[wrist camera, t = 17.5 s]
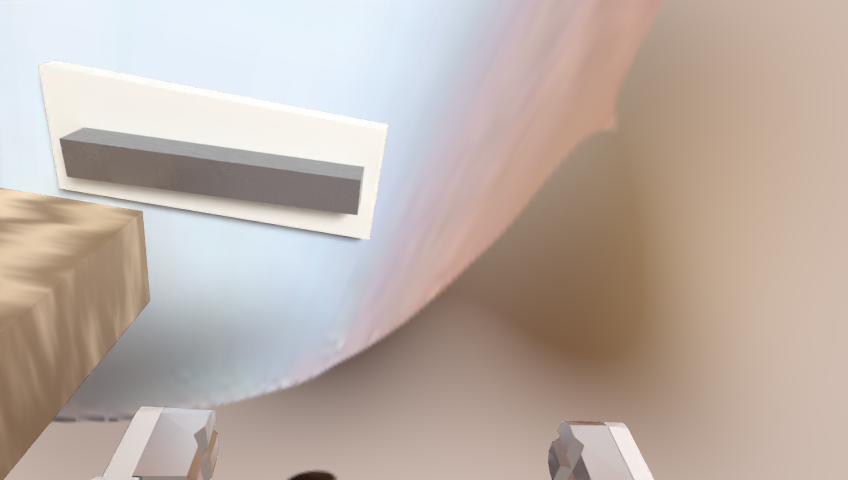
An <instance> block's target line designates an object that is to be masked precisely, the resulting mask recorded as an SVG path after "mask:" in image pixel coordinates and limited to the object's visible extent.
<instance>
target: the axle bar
mask: <svg viewBox="0 0 848 480" xmlns="http://www.w3.org/2000/svg"><path fill="white" fill-rule="evenodd" d="M59 140H60V145H61V150H62V154H63V159H64V164H65V169H66V174H67V177H72V178H80V179H87V180H95V181H103V182H110V183H118V184H125V185H133V186H140V187H148V188H155V189H163V190H170V191H178V192H186V193H193V194H201V195H208V196H216V197H223V198H231V199H238V200H246V201H254V202H261V203H269V204H276V205H284V206H291V207H299V208H306V209H314V210H321V211H329V212H337V213H344V214H352V215H358V211H359V206H360V202H361V196H362V186H363V176H364V167H361V166H354V165H347V164H340V163H333V162H326V161H319V160H312V159H305V158H298V157H291V156H284V155H277V154H270V153H262V152H255V151H248V150H241V149H234V148H227V147H220V146H213V145H206V144H199V143H192V142H185V141H178V140H170V139H163V138H156V137H149V136H142V135H135V134H128V133H121V132H114V131H107V130H100V129H93V128H86V127H83V128H81V129H79V130H77V131H75V132H72V133H70V134H68V135H66V136H64V137H61V138H59Z"/></svg>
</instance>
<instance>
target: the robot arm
mask: <svg viewBox="0 0 848 480" xmlns="http://www.w3.org/2000/svg"><path fill="white" fill-rule="evenodd" d="M215 424H216V413H215V410H201V409H184V408H167V407H144V406H142V407H141V408H140V409H139V410H138V411H137V412H136V413H135V414H134V416H133V418H132V420H131V422H130V424H129V426H128V428H127V430H126V432H125V434H124V436H123V438H122V439H121V441H120V443H119V445H118V447H117V449H116V451H115V453H114V455H113V457H112V459H111V460H110V462H109V464H108V466H107V468H106V470H105V472H104V474H103V476H99V477H98V476H97V477H93V478H92V479H91V480H209V479H210V478H211V477H212V475H213V472H214V468H215V465H216V460H217V455H218V448H219V436H218V433H217V432H216V431H215V430H214V427H215ZM558 434H559V438H558V439H556V440H555V441H553V442H552V444H551V447H550V450H549V458H548V464H549V471H550V475H551V478H552V480H654V479H653V477H652V475H651V473H650V471H649V469H648V467H647V465H646V463H645V461H644V460H643V457H642V455H641V454H640V451H639V450H638V448H637V446H636V444H635V442H634V440H633V438H632V436H631V434H630V432H629V430H628V428H627V427H626V426H625V425H624V424H623V423H612V422H593V421H588V422H587V421H564V422H562V423H561V424H560V426H559V428H558Z"/></svg>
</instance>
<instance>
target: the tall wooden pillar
mask: <svg viewBox="0 0 848 480" xmlns="http://www.w3.org/2000/svg"><path fill="white" fill-rule="evenodd" d="M149 301H150V296H149V284H148V272H147V260H146V248H145V236H144V224H143V212H142V211H137V210H131V209H125V208H119V207H113V206H107V205H101V204H95V203H89V202H82V201H76V200H70V199H64V198H58V197H52V196H46V195H40V194H34V193H28V192H21V191H15V190H9V189H3V188H0V480H4V478H5V477H6V476H7V475H8V473H9V472H10V471H11V470H12V469H13V467H14V466H15V465H16V464H17V462H18V461H19V460H20V459H21V458H22V456H23V455H24V454H25V453H26V451H27V450H28V449H29V448H30V447H31V445H32V444H33V443H34V442H35V440H36V439H37V438H38V437H39V436H40V434H41V433H42V432H43V431H44V429H45V428H46V427H47V426H48V425H49V423H50V422H51V421H52V420H53V418H54V417H55V416H56V415H57V414H58V412H59V411H60V410H61V409H62V407H63V406H64V405H65V404H66V403H67V401H68V400H69V399H70V398H71V396H72V395H73V394H74V393H75V392H76V390H77V389H78V388H79V387H80V386H81V384H82V383H83V382H84V381H85V379H86V378H87V377H88V376H89V375H90V373H91V372H92V371H93V370H94V368H95V367H96V366H97V365H98V364H99V362H100V361H101V360H102V359H103V357H104V356H105V355H106V354H107V353H108V351H109V350H110V349H111V348H112V346H113V345H114V344H115V343H116V342H117V340H118V339H119V338H120V337H121V335H122V334H123V333H124V332H125V331H126V329H127V328H128V327H129V326H130V324H131V323H132V322H133V321H134V320H135V318H136V317H137V316H138V315H139V313H140V312H141V311H142V310H143V309H144V307H145V306H146V305H147V304H148V302H149Z"/></svg>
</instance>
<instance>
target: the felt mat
mask: <svg viewBox="0 0 848 480" xmlns="http://www.w3.org/2000/svg"><path fill="white" fill-rule="evenodd" d="M38 67H39V72H40V78H41V84H42V90H43V96H44V102H45V108H46V114H47V120H48V126H49V132H50V138H51V144H52V150H53V155H54V161H55V167H56V173H57V179H58V185H59V189H65V190H72V191H78V192H84V193H90V194H96V195H102V196H108V197H114V198H120V199H126V200H132V201H138V202H144V203H150V204H156V205H162V206H168V207H174V208H180V209H186V210H192V211H198V212H204V213H210V214H216V215H222V216H228V217H234V218H240V219H246V220H252V221H258V222H264V223H270V224H276V225H282V226H288V227H295V228H301V229H307V230H313V231H319V232H325V233H331V234H337V235H343V236H349V237H355V238H361V239H367V240H369V237H370V232H371V226H372V220H373V214H374V208H375V202H376V196H377V190H378V184H379V178H380V172H381V166H382V160H383V153H384V147H385V141H386V135H387V129H388V124H384V123H379V122H373V121H368V120H363V119H358V118H353V117H347V116H342V115H337V114H332V113H327V112H321V111H316V110H311V109H306V108H301V107H295V106H290V105H285V104H280V103H275V102H269V101H264V100H259V99H254V98H249V97H243V96H238V95H233V94H228V93H223V92H217V91H212V90H207V89H202V88H197V87H191V86H186V85H181V84H176V83H171V82H165V81H160V80H155V79H150V78H145V77H139V76H134V75H129V74H124V73H119V72H113V71H108V70H103V69H98V68H93V67H87V66H82V65H77V64H72V63H67V62H61V61H56V60H55V61H51V62H47V63H43V64H38ZM83 127H86V128H93V129H100V130H107V131H114V132H121V133H128V134H135V135H142V136H149V137H156V138H163V139H170V140H178V141H185V142H192V143H199V144H206V145H213V146H220V147H227V148H234V149H241V150H248V151H255V152H262V153H270V154H277V155H284V156H291V157H298V158H305V159H312V160H319V161H326V162H333V163H340V164H347V165H354V166H361V167H364V176H363V186H362V196H361V202H360V206H359V211H358V215H352V214H344V213H337V212H329V211H321V210H314V209H306V208H299V207H291V206H284V205H276V204H269V203H261V202H254V201H246V200H238V199H231V198H223V197H216V196H208V195H201V194H193V193H186V192H178V191H170V190H163V189H155V188H148V187H140V186H133V185H125V184H118V183H110V182H103V181H95V180H87V179H80V178H72V177H67V174H66V169H65V164H64V159H63V154H62V150H61V145H60V140H59V138H61V137H64V136H66V135H68V134H70V133H72V132H75V131H77V130H79V129H81V128H83Z"/></svg>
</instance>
